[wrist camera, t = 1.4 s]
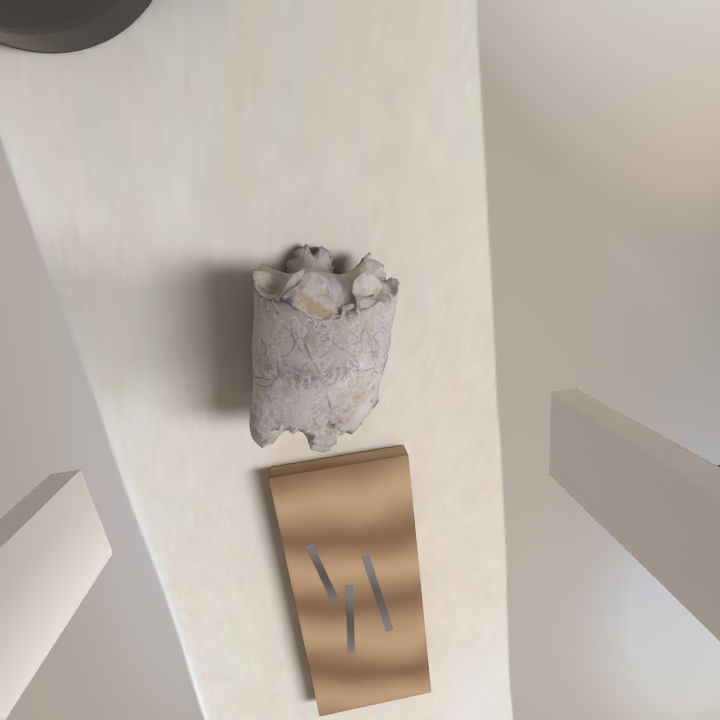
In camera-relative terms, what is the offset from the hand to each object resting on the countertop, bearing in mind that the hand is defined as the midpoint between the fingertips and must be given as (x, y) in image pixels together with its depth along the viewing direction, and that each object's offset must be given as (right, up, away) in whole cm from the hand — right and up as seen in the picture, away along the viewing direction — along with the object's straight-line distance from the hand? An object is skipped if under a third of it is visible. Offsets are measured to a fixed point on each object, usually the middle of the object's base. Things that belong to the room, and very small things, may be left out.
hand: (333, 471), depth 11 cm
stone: (-2, +5, +16) cm, 17 cm away
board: (+1, -15, +22) cm, 27 cm away
